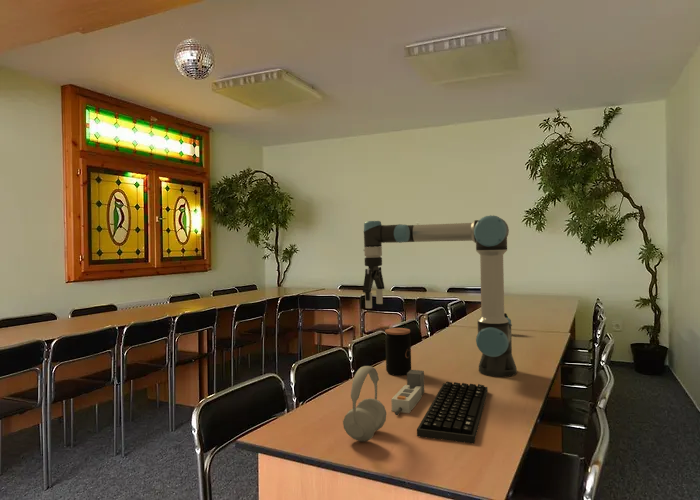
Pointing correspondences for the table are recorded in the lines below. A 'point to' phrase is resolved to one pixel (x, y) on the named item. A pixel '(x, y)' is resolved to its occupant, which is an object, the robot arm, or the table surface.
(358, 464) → the table surface
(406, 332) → the coffee jar
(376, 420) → the headphones
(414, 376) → the charger
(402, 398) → the strip
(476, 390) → the computer keyboard
